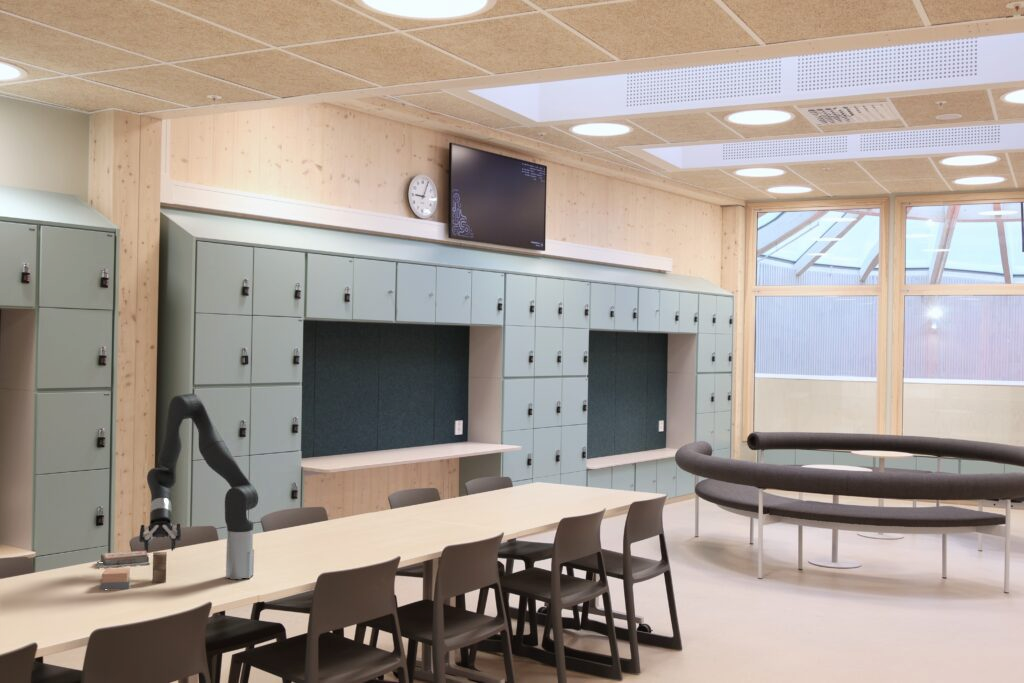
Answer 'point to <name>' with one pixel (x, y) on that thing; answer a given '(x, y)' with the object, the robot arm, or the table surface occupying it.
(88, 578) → the table surface
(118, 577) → the upper slab
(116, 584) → the lower slab
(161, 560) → the brown block
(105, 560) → the packaged product
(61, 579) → the table surface
